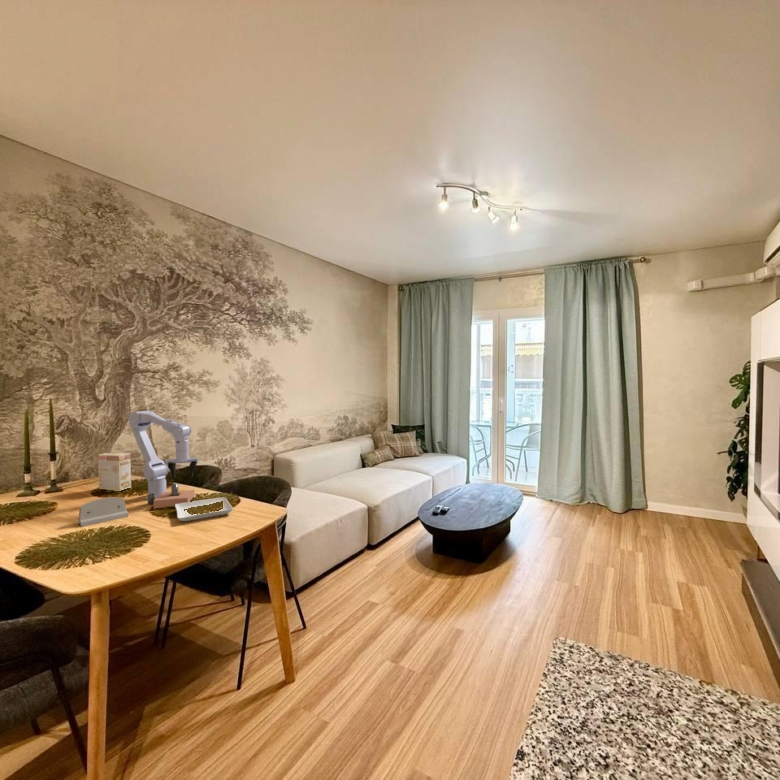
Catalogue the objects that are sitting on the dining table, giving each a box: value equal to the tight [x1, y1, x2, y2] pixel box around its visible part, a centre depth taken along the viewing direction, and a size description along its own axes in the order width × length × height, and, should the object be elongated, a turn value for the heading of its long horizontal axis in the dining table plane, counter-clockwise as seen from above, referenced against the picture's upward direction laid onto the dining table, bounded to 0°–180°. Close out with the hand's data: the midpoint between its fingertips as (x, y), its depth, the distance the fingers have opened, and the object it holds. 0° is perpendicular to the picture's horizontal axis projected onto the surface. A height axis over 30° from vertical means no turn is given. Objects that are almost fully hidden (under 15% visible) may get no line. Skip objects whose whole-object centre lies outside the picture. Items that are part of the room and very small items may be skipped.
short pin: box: [146, 493, 156, 505], centre depth 186 cm, size 3×3×4 cm
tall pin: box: [170, 483, 179, 496], centre depth 186 cm, size 3×3×9 cm
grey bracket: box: [78, 496, 129, 528], centre depth 165 cm, size 17×5×10 cm, turn 136°
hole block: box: [153, 489, 196, 510], centre depth 186 cm, size 14×14×4 cm
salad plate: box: [175, 496, 234, 522], centre depth 172 cm, size 21×21×3 cm
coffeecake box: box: [97, 452, 132, 491], centre depth 211 cm, size 15×7×20 cm, turn 72°
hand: (183, 477), depth 193 cm, fingers open, 7 cm apart
